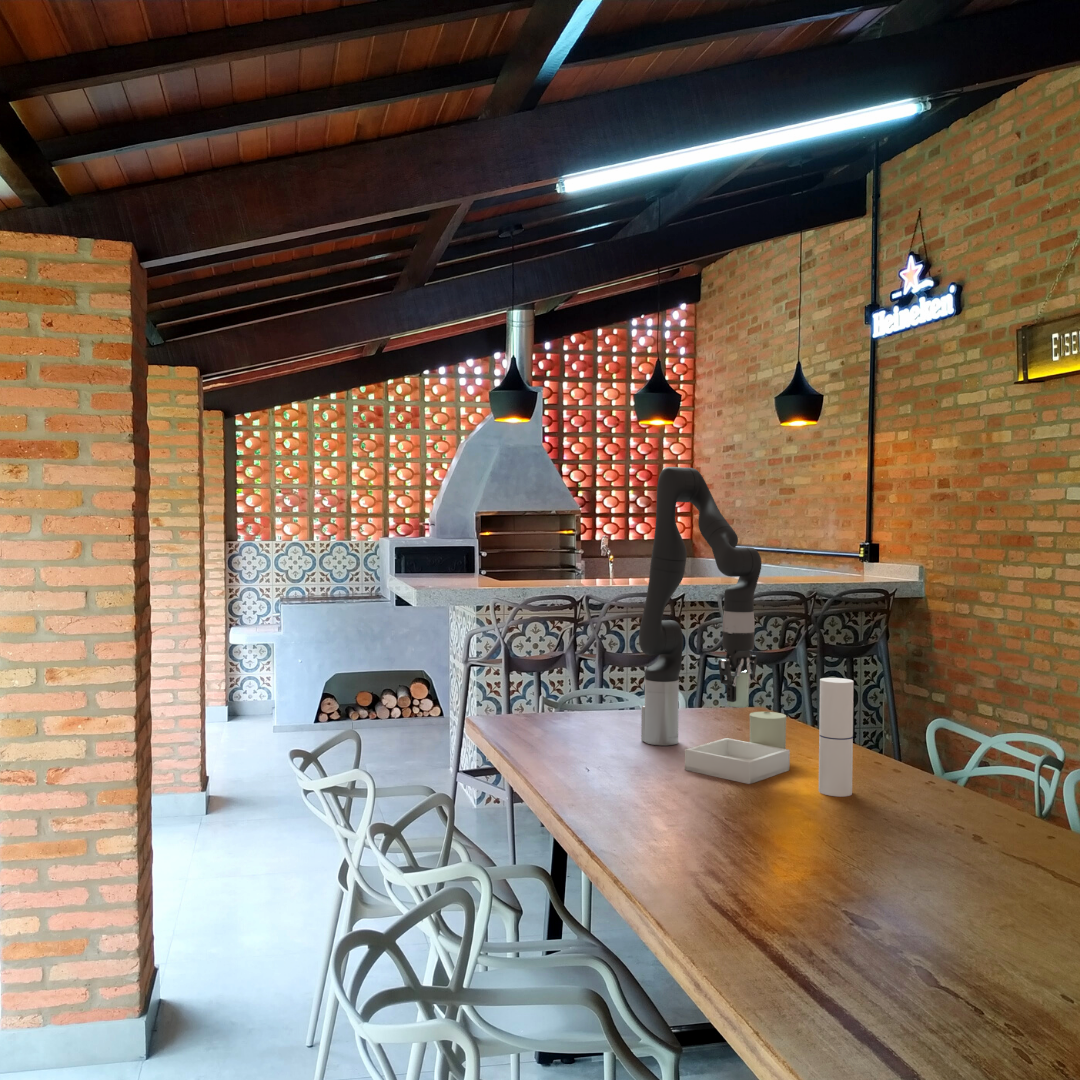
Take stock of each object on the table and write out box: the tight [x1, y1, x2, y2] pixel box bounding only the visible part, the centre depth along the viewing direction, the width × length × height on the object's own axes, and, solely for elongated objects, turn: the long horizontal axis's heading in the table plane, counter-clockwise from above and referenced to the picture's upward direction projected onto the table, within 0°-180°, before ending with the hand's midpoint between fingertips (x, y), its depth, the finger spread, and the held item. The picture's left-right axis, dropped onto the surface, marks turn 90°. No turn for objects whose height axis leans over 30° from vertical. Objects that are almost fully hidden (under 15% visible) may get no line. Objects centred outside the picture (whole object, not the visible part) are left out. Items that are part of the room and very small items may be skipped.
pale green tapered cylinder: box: [726, 671, 750, 708], centre depth 234 cm, size 5×5×8 cm
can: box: [749, 711, 787, 749], centre depth 244 cm, size 9×9×12 cm
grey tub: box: [684, 737, 791, 785], centre depth 234 cm, size 18×18×5 cm
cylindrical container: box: [818, 677, 854, 798], centre depth 215 cm, size 7×7×25 cm
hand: (737, 699), depth 234 cm, fingers closed on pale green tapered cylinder, 5 cm apart
